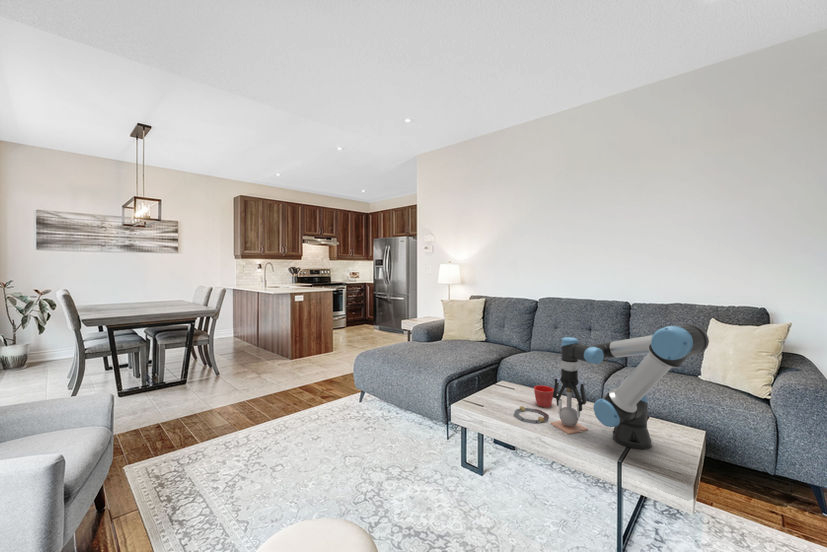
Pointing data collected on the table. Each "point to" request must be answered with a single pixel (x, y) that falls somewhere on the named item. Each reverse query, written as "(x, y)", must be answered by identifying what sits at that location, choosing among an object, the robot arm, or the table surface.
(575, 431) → the coaster
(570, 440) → the table surface
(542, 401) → the flower pot
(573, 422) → the potion bottle
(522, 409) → the collar
